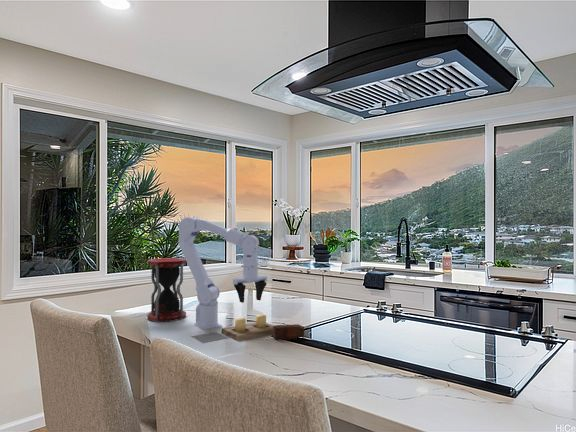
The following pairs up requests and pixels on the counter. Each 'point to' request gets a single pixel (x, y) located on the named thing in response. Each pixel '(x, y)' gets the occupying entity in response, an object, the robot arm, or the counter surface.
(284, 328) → the brick
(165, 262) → the hourglass
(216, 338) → the mat
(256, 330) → the socket board
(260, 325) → the tan domed cylinder
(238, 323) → the yellow peg
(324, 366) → the counter surface
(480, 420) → the counter surface
